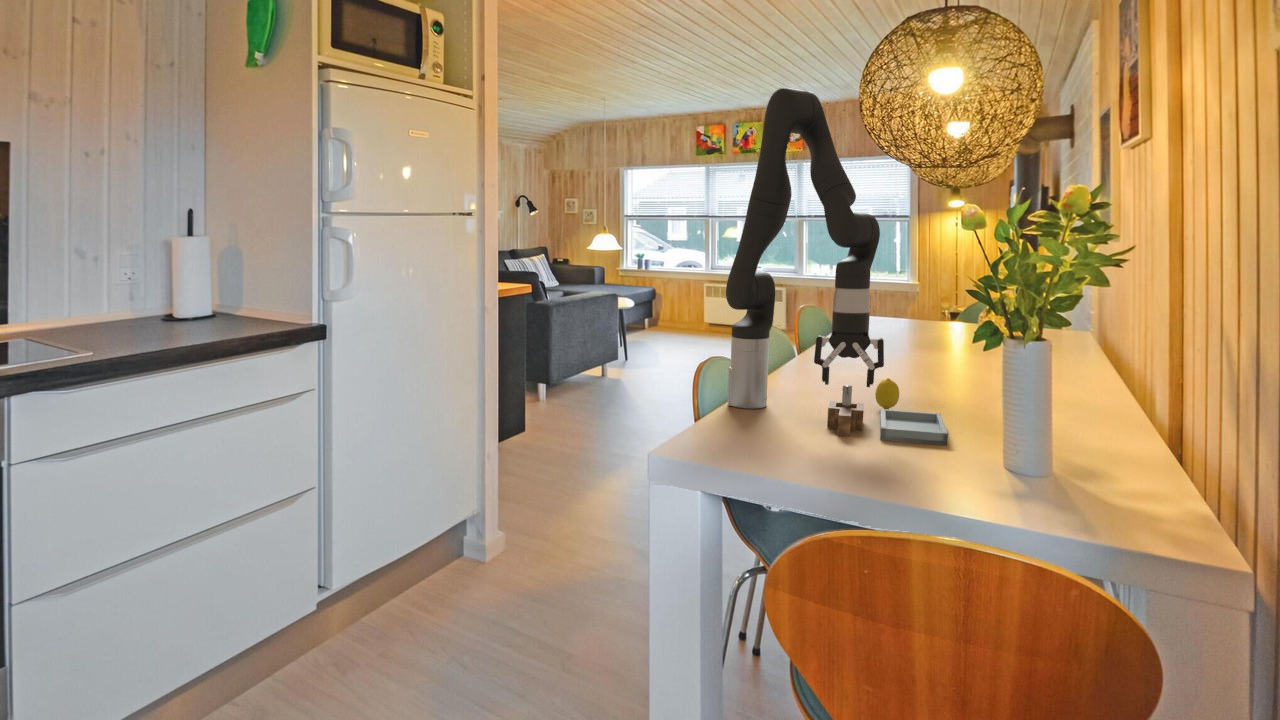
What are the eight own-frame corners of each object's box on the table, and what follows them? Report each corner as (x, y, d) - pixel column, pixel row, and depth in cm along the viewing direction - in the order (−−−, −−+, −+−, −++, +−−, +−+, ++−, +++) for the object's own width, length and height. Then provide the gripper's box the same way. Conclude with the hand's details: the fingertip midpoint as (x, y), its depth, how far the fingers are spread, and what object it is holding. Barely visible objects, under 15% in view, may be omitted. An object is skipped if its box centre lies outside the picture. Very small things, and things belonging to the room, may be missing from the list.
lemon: (895, 408, 183) (897, 376, 182) (900, 413, 178) (902, 380, 176) (872, 407, 184) (874, 375, 182) (877, 412, 178) (879, 380, 177)
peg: (840, 425, 166) (842, 386, 164) (840, 423, 168) (843, 384, 166) (849, 426, 165) (852, 387, 164) (850, 424, 167) (852, 385, 166)
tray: (880, 439, 155) (881, 428, 154) (879, 419, 172) (880, 408, 171) (947, 445, 151) (948, 433, 151) (939, 424, 168) (940, 413, 168)
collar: (825, 434, 158) (826, 414, 158) (829, 419, 171) (830, 400, 170) (861, 437, 156) (863, 417, 155) (862, 422, 169) (864, 403, 168)
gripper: (815, 310, 154) (812, 386, 157) (887, 312, 150) (882, 390, 152) (817, 307, 161) (814, 380, 164) (886, 309, 157) (882, 384, 159)
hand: (847, 385), depth 158 cm, fingers open, 8 cm apart
